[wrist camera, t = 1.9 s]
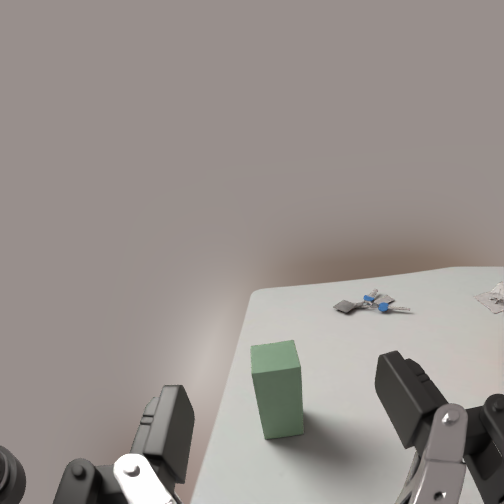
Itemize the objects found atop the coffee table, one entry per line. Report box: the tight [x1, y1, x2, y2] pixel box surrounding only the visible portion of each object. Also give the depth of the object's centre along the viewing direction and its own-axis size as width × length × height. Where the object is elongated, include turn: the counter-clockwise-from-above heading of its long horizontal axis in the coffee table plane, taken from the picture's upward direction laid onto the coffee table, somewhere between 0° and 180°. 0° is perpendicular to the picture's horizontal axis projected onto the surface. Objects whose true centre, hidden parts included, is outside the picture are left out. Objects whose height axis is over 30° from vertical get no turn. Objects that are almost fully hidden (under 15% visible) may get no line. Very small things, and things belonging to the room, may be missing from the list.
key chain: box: [333, 289, 410, 312], centre depth 47 cm, size 14×8×1 cm, turn 70°
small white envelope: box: [473, 282, 504, 313], centre depth 35 cm, size 7×12×2 cm, turn 88°
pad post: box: [251, 340, 303, 439], centre depth 24 cm, size 4×4×10 cm
